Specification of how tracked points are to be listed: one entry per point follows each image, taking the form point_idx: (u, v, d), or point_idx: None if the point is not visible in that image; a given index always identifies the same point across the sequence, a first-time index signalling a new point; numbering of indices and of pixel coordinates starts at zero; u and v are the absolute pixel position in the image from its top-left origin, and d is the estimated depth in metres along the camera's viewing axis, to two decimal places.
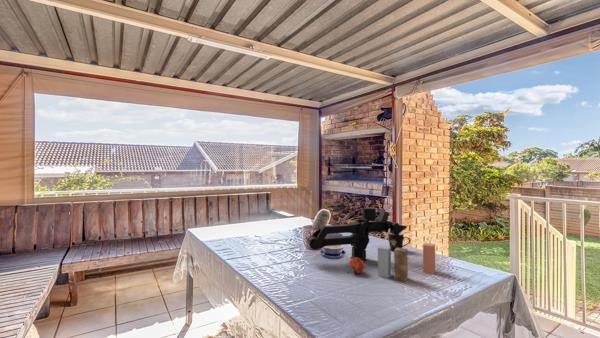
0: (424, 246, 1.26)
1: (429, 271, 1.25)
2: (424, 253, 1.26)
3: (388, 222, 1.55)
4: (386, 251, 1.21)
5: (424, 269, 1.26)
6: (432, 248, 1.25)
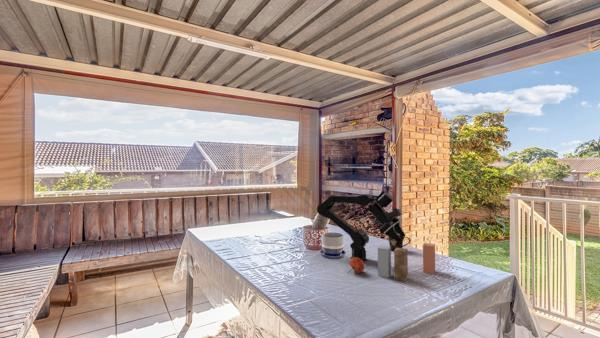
0: (424, 246, 1.26)
1: (429, 271, 1.25)
2: (424, 253, 1.26)
3: (398, 227, 1.39)
4: (386, 251, 1.21)
5: (424, 269, 1.26)
6: (432, 248, 1.25)
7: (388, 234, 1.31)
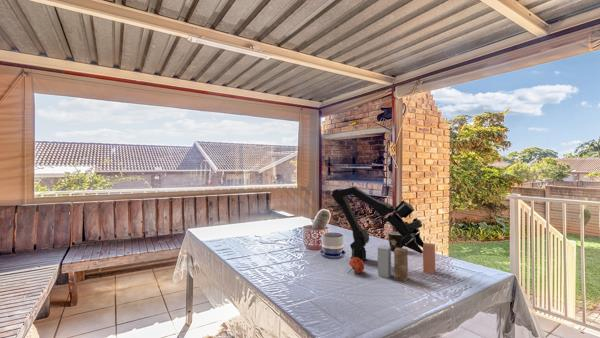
0: (424, 246, 1.26)
1: (429, 271, 1.25)
2: (424, 253, 1.26)
3: (418, 238, 1.34)
4: (386, 251, 1.21)
5: (424, 269, 1.26)
6: (432, 248, 1.25)
7: (409, 246, 1.26)
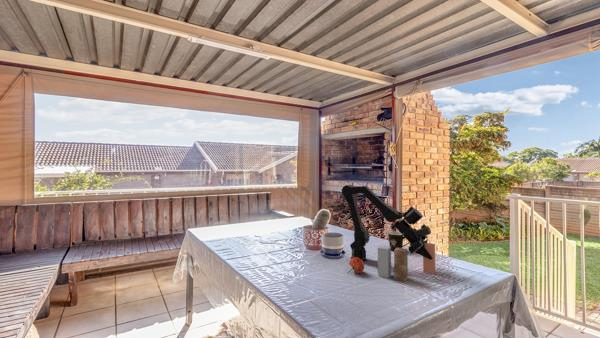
0: None
1: (429, 271, 1.25)
2: None
3: None
4: (386, 251, 1.21)
5: (424, 269, 1.26)
6: (432, 248, 1.25)
7: (418, 252, 1.26)
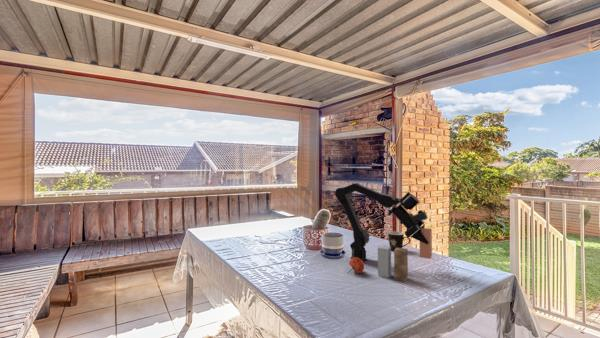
0: None
1: (425, 255, 1.26)
2: None
3: None
4: (386, 251, 1.21)
5: (421, 253, 1.27)
6: (428, 232, 1.26)
7: (415, 237, 1.27)
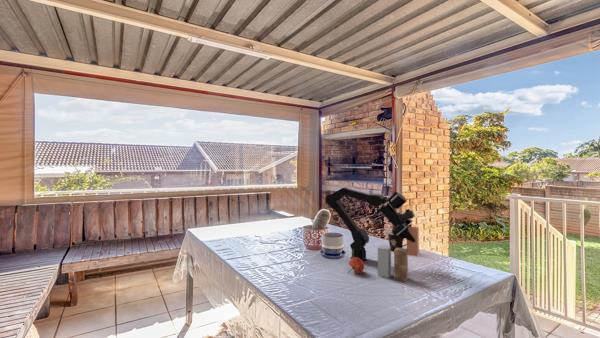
0: None
1: (412, 253, 1.29)
2: None
3: None
4: (386, 251, 1.21)
5: (408, 251, 1.30)
6: (415, 231, 1.29)
7: (402, 235, 1.30)
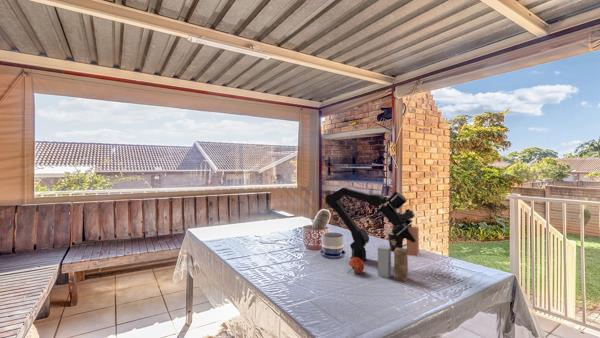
0: None
1: (412, 253, 1.29)
2: None
3: None
4: (386, 251, 1.21)
5: (408, 251, 1.30)
6: (415, 231, 1.29)
7: (402, 235, 1.30)
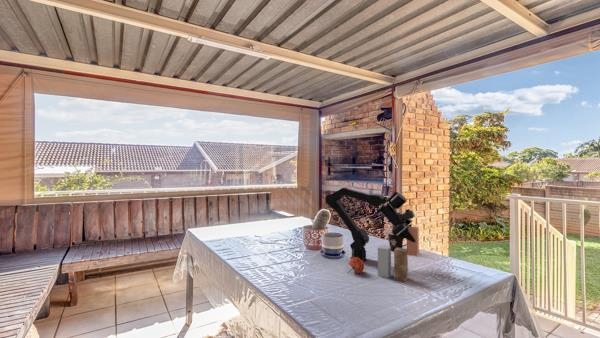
0: None
1: (412, 253, 1.29)
2: None
3: None
4: (386, 251, 1.21)
5: (408, 251, 1.30)
6: (415, 231, 1.29)
7: (402, 235, 1.30)
